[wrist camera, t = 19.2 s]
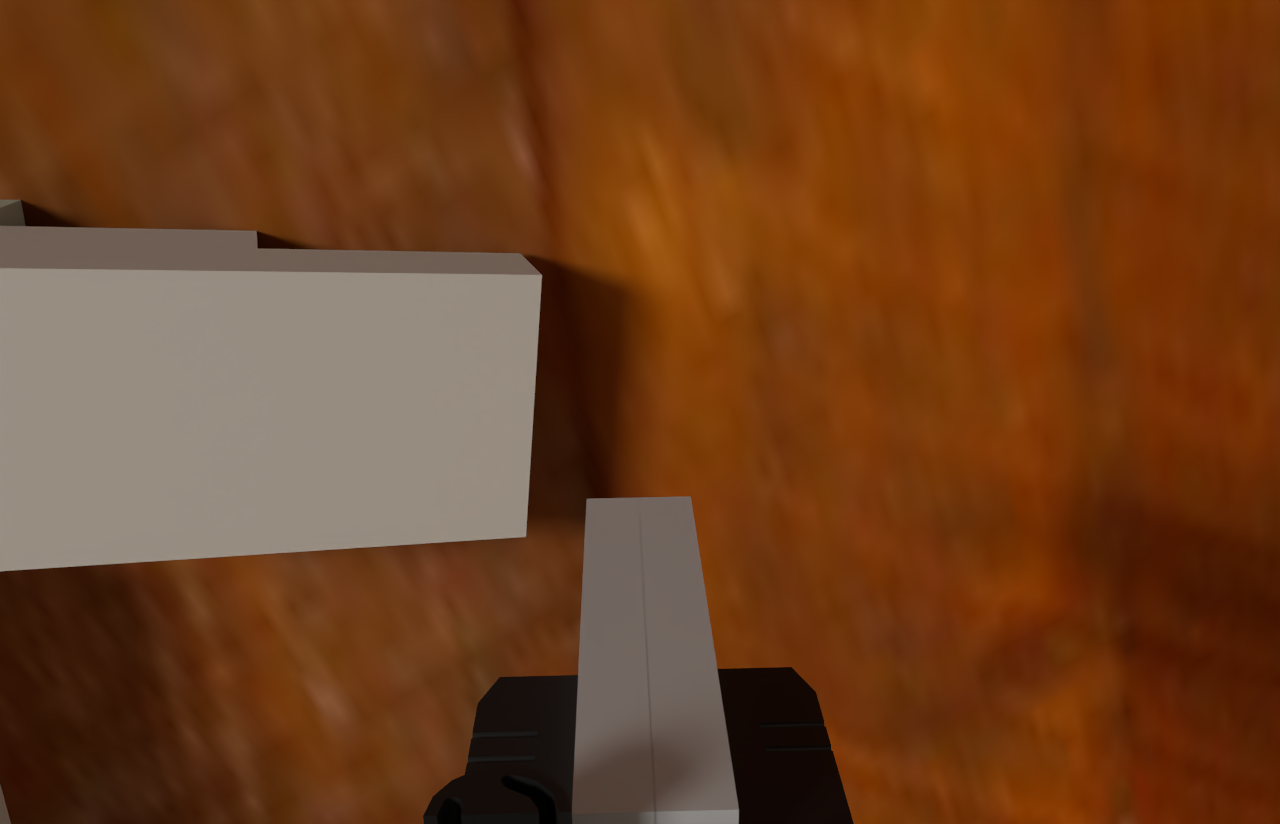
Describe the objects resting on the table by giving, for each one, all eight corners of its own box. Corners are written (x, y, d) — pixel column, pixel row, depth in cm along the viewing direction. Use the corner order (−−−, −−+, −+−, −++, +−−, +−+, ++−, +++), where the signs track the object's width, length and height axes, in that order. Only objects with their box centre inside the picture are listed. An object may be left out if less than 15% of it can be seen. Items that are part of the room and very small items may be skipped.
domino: (506, 499, 27) (-69, 531, 23) (520, 253, 25) (-108, 241, 21) (526, 536, 25) (-95, 577, 21) (542, 274, 23) (-139, 266, 19)
